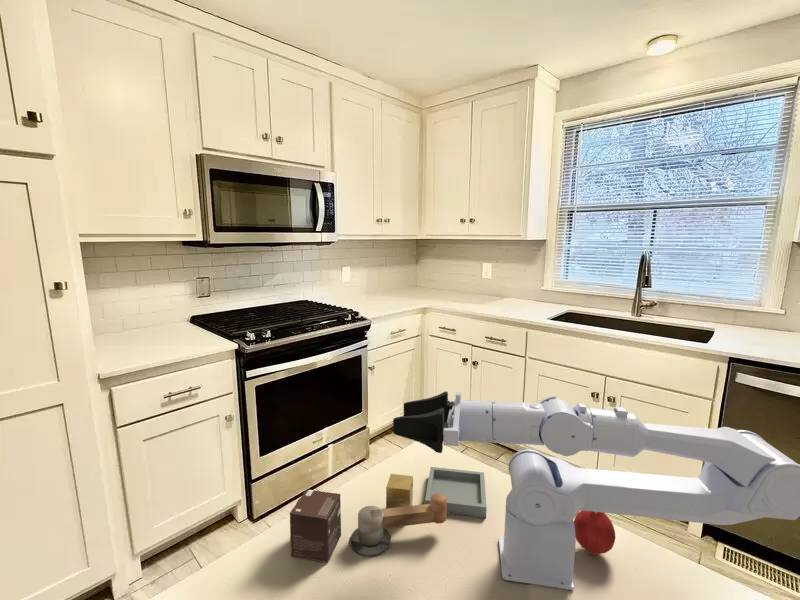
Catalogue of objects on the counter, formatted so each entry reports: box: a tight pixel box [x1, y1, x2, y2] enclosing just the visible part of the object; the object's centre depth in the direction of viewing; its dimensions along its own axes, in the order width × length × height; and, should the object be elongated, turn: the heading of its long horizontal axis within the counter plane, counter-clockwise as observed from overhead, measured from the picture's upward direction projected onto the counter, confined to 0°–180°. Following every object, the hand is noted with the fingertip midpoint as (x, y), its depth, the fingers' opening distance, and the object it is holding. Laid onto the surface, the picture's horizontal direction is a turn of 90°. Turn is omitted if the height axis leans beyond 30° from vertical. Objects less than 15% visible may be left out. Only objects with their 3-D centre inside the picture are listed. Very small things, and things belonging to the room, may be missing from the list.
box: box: [289, 489, 342, 563], centre depth 61 cm, size 6×6×7 cm
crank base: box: [349, 527, 392, 558], centre depth 62 cm, size 6×6×1 cm
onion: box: [573, 510, 616, 556], centre depth 60 cm, size 6×6×8 cm
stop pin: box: [385, 473, 414, 509], centre depth 68 cm, size 4×4×6 cm
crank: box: [357, 494, 447, 546], centre depth 63 cm, size 14×4×5 cm, turn 100°
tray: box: [424, 466, 488, 519], centre depth 74 cm, size 11×11×2 cm
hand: (399, 417), depth 59 cm, fingers open, 7 cm apart
